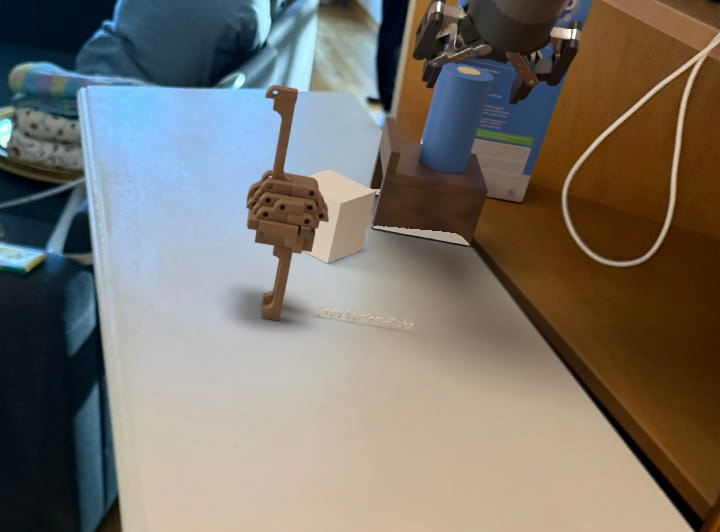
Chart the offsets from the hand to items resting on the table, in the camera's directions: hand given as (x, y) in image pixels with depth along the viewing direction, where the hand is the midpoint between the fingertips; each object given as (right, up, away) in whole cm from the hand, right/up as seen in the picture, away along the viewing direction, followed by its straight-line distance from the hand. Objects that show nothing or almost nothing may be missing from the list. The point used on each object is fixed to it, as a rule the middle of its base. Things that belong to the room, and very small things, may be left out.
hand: (471, 87), depth 93 cm
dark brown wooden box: (-3, -7, +13) cm, 15 cm away
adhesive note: (-15, -14, +4) cm, 21 cm away
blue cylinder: (-1, -3, +8) cm, 9 cm away
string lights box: (+5, +1, +23) cm, 24 cm away
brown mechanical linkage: (-16, -26, -7) cm, 31 cm away
